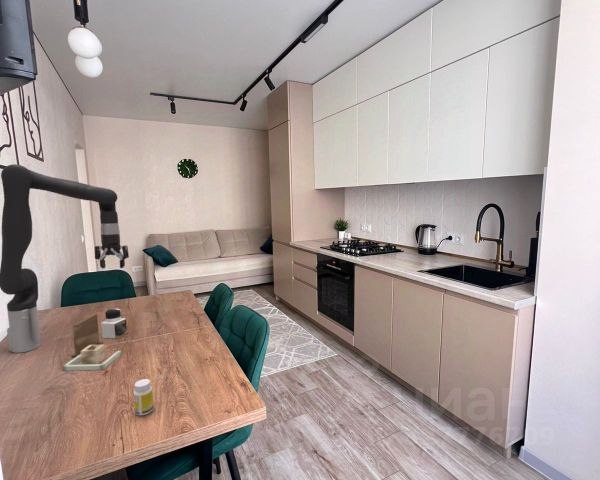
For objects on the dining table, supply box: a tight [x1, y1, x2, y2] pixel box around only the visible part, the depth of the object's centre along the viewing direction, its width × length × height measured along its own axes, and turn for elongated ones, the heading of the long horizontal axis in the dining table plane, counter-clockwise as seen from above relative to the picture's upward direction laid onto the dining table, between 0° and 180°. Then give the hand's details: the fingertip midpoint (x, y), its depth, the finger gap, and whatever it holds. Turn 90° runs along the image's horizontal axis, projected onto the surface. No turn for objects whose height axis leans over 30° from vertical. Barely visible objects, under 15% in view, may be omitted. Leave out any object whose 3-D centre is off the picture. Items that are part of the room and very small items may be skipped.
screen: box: [70, 313, 104, 359], centre depth 132 cm, size 5×13×13 cm, turn 1°
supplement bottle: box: [133, 378, 154, 416], centre depth 92 cm, size 5×5×8 cm
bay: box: [61, 350, 122, 372], centre depth 122 cm, size 14×12×2 cm
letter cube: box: [80, 344, 106, 365], centre depth 123 cm, size 6×6×6 cm
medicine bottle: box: [100, 308, 128, 340], centre depth 148 cm, size 7×7×12 cm
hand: (112, 267), depth 151 cm, fingers open, 8 cm apart
